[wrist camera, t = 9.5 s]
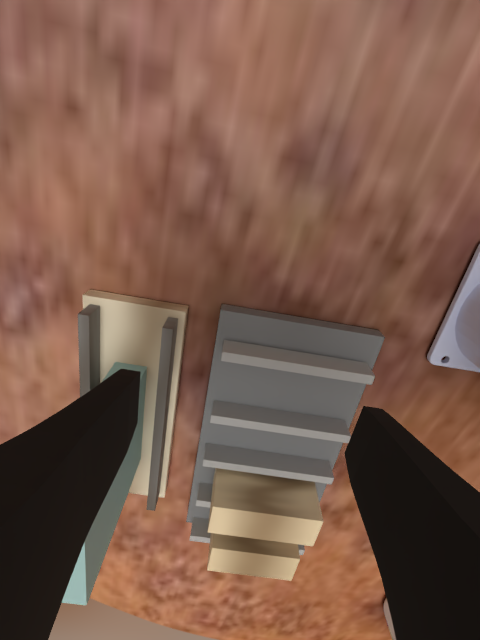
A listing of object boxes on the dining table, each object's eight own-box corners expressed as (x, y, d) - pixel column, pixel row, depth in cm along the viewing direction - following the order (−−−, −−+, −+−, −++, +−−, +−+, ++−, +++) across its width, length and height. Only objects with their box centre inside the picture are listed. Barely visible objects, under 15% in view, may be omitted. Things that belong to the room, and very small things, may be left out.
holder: (188, 305, 20) (181, 322, 18) (167, 486, 27) (159, 515, 24) (90, 289, 20) (70, 304, 18) (92, 476, 26) (78, 505, 24)
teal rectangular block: (140, 458, 24) (86, 605, 16) (113, 454, 24) (44, 600, 16) (147, 366, 21) (83, 491, 13) (115, 361, 21) (30, 484, 13)
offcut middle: (311, 469, 24) (323, 521, 21) (303, 492, 25) (312, 546, 22) (217, 455, 24) (212, 506, 20) (213, 479, 25) (207, 532, 21)
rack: (378, 330, 21) (395, 349, 18) (303, 525, 28) (308, 556, 26) (221, 303, 20) (218, 320, 18) (188, 510, 28) (183, 540, 26)
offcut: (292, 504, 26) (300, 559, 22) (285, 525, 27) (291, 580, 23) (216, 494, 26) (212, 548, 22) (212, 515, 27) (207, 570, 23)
